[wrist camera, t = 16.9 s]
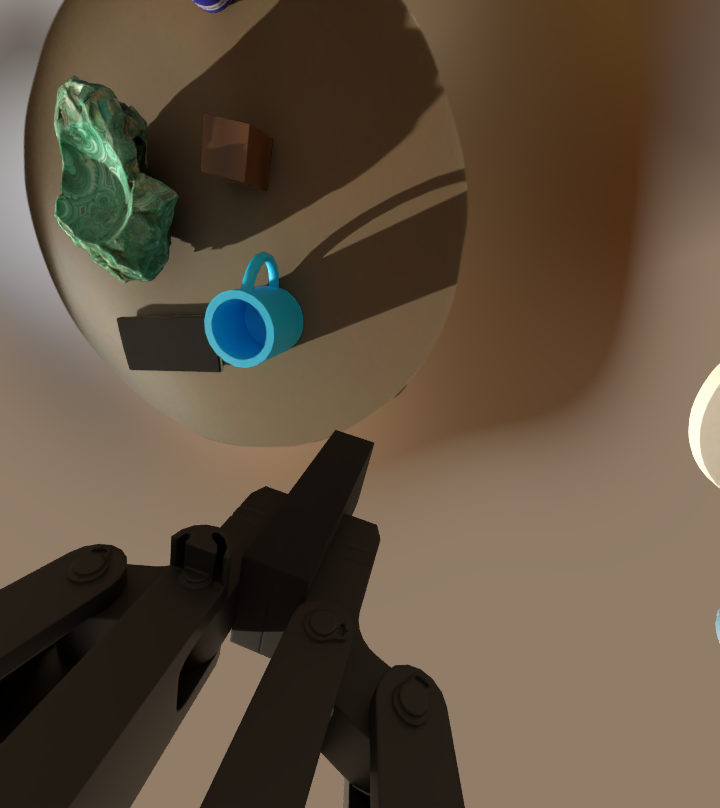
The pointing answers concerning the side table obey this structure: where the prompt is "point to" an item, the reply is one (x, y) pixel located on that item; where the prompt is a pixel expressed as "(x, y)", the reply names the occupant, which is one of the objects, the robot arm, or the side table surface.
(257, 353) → the mug
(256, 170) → the walnut block
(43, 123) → the side table surface
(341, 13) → the side table surface
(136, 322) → the smartphone
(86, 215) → the mineral
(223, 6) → the beverage can
